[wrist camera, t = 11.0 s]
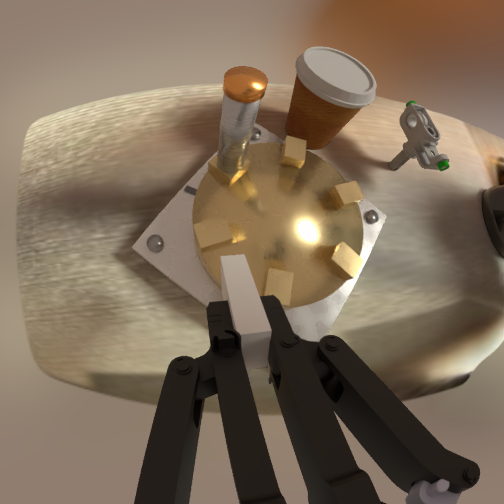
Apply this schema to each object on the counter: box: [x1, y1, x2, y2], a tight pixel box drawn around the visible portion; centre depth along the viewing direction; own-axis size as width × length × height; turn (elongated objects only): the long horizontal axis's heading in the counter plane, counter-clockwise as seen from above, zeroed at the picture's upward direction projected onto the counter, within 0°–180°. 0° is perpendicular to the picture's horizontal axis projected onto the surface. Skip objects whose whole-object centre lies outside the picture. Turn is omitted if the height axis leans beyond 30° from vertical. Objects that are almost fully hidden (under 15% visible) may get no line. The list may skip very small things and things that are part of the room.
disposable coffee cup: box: [286, 47, 376, 149], centre depth 29 cm, size 10×10×12 cm
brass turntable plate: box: [192, 66, 365, 309], centre depth 20 cm, size 16×16×14 cm
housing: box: [132, 123, 386, 342], centre depth 28 cm, size 20×20×3 cm
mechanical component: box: [389, 101, 449, 171], centre depth 31 cm, size 3×10×10 cm, turn 11°
